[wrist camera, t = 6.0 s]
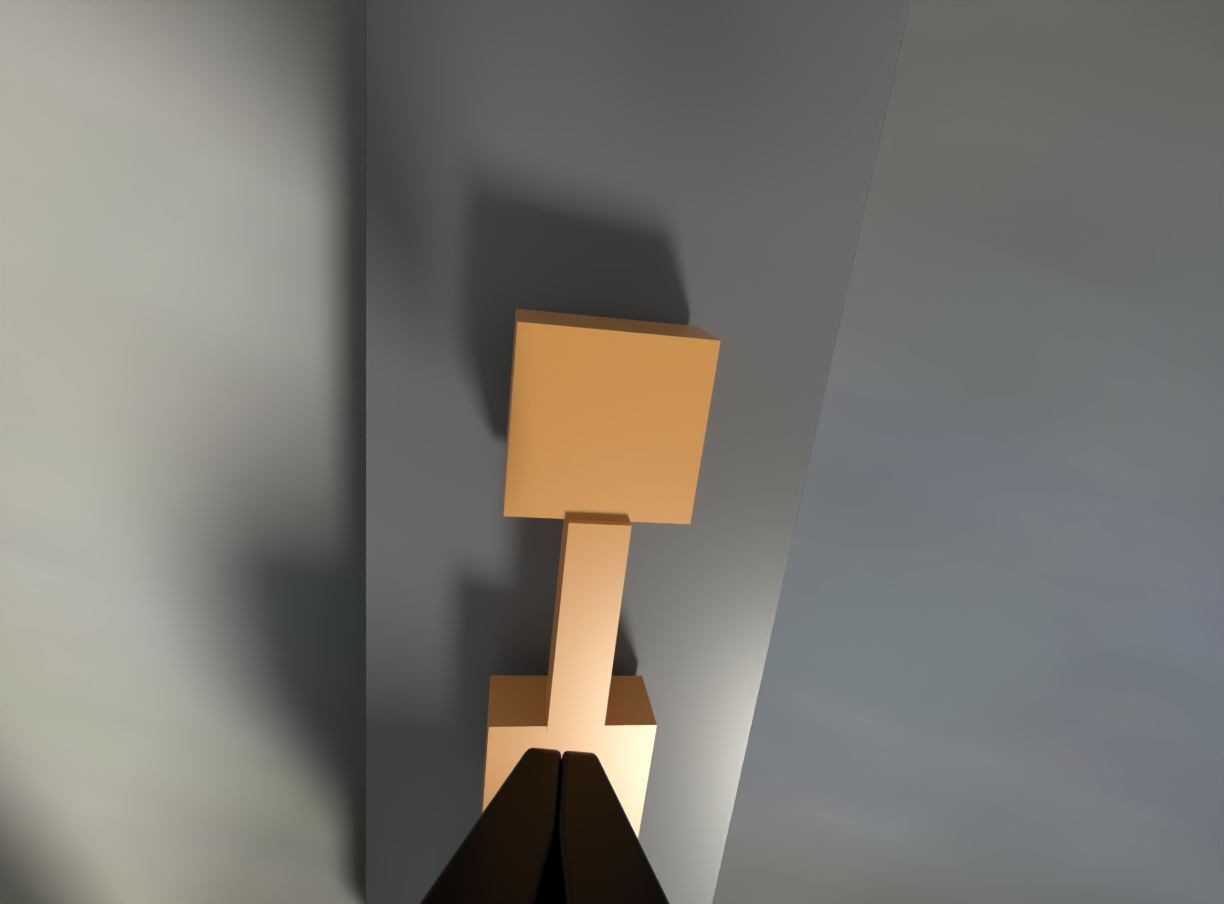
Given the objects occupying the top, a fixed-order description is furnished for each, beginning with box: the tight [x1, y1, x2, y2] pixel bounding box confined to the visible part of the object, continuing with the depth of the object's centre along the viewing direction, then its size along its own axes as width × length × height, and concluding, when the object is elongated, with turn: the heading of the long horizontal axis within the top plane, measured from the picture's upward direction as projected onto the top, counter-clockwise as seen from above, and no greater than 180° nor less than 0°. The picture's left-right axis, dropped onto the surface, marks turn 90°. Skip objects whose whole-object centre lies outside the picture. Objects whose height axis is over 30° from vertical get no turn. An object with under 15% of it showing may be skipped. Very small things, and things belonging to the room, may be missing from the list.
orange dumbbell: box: [481, 309, 721, 838], centre depth 12 cm, size 3×10×2 cm, turn 173°
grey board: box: [366, 0, 911, 904], centre depth 14 cm, size 8×28×2 cm, turn 173°
